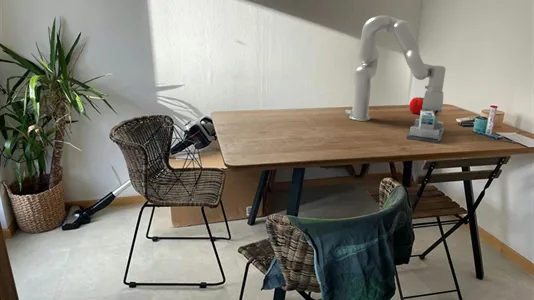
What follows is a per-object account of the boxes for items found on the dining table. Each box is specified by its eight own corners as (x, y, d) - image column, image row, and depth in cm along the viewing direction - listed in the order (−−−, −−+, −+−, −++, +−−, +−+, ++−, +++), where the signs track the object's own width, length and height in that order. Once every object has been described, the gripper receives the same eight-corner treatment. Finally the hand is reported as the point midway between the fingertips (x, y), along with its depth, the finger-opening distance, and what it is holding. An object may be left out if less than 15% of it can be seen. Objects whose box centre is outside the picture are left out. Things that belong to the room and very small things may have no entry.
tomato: (403, 111, 274) (405, 96, 270) (418, 109, 279) (420, 94, 276) (416, 116, 264) (419, 99, 261) (431, 114, 270) (434, 98, 266)
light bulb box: (432, 136, 221) (435, 115, 217) (418, 134, 222) (421, 114, 219) (430, 130, 231) (433, 110, 227) (417, 129, 232) (420, 109, 229)
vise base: (406, 138, 221) (407, 127, 219) (414, 126, 242) (415, 116, 240) (439, 143, 215) (441, 132, 213) (444, 130, 236) (445, 120, 234)
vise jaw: (414, 126, 235) (415, 116, 233) (416, 124, 240) (417, 113, 238) (441, 130, 230) (443, 119, 227) (442, 127, 235) (444, 117, 233)
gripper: (419, 88, 232) (415, 121, 238) (449, 91, 226) (443, 124, 232) (421, 86, 238) (417, 118, 244) (450, 89, 232) (445, 121, 238)
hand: (430, 121), depth 238 cm, fingers closed
